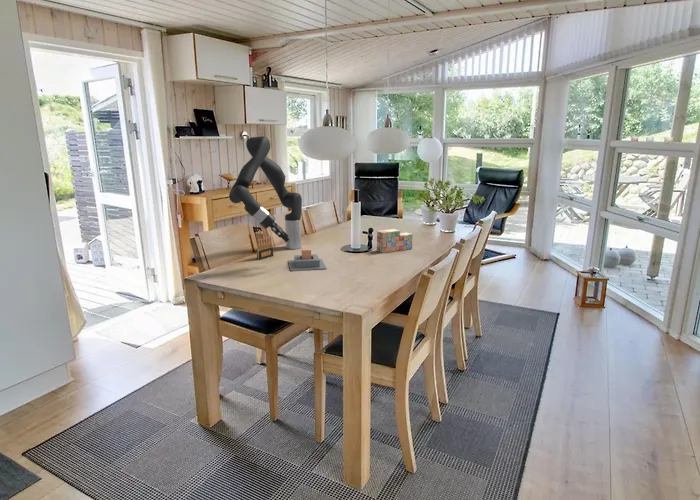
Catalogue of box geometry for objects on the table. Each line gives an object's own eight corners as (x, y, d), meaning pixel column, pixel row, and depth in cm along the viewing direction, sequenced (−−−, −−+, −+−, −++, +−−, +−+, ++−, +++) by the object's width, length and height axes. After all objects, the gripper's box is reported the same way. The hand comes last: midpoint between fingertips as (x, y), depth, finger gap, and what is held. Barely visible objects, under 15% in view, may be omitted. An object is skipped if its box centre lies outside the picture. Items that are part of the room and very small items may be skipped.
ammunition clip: (259, 260, 240) (258, 238, 237) (256, 259, 241) (255, 238, 238) (273, 256, 248) (272, 235, 245) (271, 255, 249) (270, 234, 246)
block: (301, 263, 232) (301, 248, 230) (310, 262, 233) (310, 248, 231) (302, 265, 227) (302, 250, 226) (311, 265, 228) (311, 250, 226)
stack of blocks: (406, 247, 272) (406, 227, 269) (412, 249, 266) (413, 229, 263) (376, 250, 262) (376, 230, 259) (382, 253, 257) (382, 232, 254)
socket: (288, 261, 237) (288, 254, 236) (321, 260, 240) (321, 252, 239) (290, 271, 220) (290, 263, 219) (326, 269, 223) (326, 261, 222)
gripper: (269, 214, 213) (293, 236, 218) (268, 209, 226) (291, 230, 231) (258, 225, 213) (283, 247, 218) (258, 220, 227) (281, 241, 232)
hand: (287, 238), depth 225 cm, fingers open, 8 cm apart
